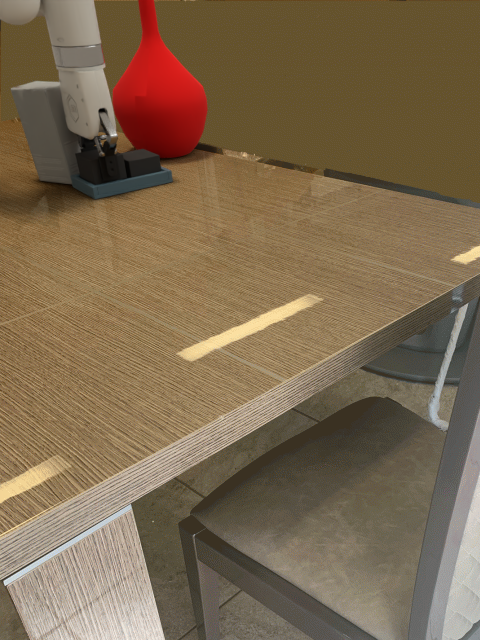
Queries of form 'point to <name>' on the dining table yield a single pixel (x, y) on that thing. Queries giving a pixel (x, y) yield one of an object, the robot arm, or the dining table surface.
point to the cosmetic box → (47, 130)
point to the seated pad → (141, 163)
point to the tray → (121, 184)
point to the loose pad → (96, 166)
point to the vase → (159, 96)
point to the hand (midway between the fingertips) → (102, 174)
